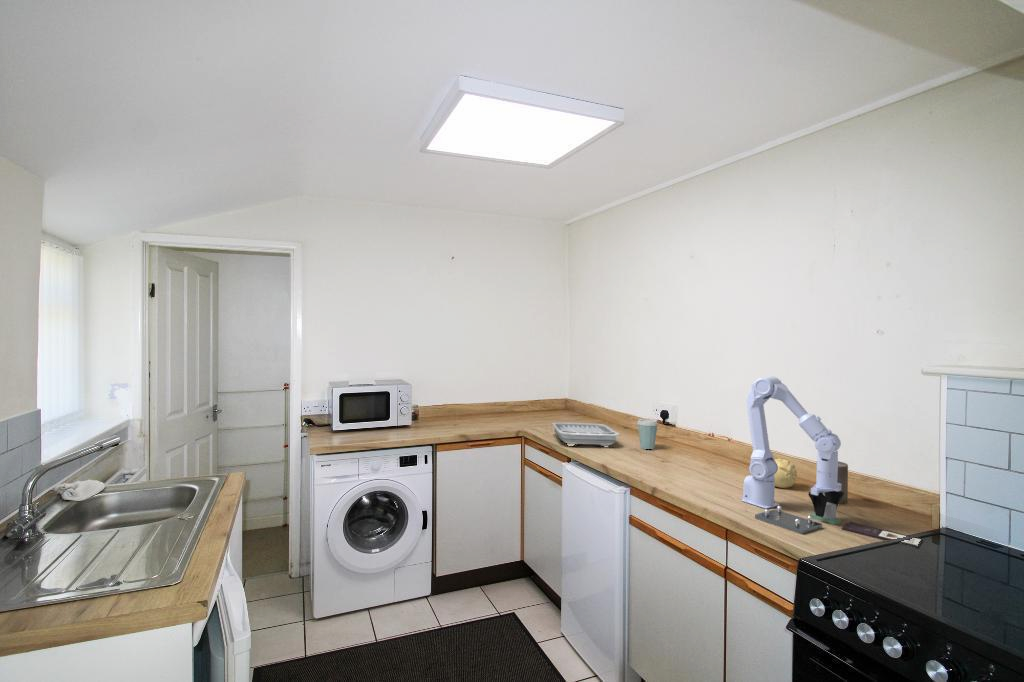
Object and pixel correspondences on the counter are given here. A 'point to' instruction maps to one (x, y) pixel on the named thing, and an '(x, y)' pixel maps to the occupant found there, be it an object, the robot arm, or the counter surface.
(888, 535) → the chocolate bar
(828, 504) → the green base grey block
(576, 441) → the dish rack
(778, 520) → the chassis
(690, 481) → the counter surface
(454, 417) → the counter surface
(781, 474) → the sculpture
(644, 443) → the disposable coffee cup
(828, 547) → the counter surface
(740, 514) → the counter surface
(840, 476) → the pillar candle
